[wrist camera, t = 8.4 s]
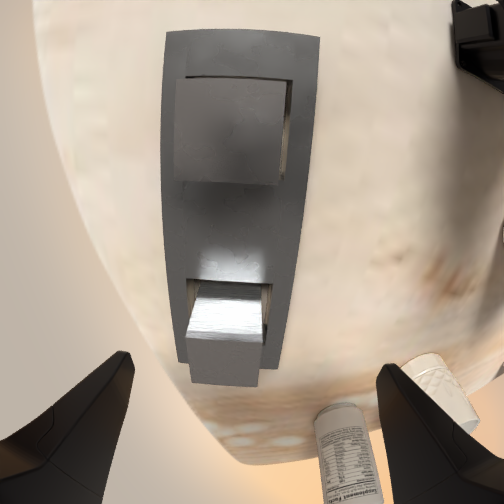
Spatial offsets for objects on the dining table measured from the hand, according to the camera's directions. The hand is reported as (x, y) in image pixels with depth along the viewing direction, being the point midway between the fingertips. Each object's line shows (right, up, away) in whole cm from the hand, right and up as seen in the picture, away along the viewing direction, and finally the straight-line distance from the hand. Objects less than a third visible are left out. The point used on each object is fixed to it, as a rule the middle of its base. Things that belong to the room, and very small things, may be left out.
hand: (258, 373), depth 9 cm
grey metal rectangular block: (-1, +12, +7) cm, 14 cm away
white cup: (+19, -10, +18) cm, 27 cm away
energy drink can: (+10, -15, +21) cm, 28 cm away
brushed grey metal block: (-2, +1, +12) cm, 13 cm away
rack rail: (-1, +6, +10) cm, 12 cm away
